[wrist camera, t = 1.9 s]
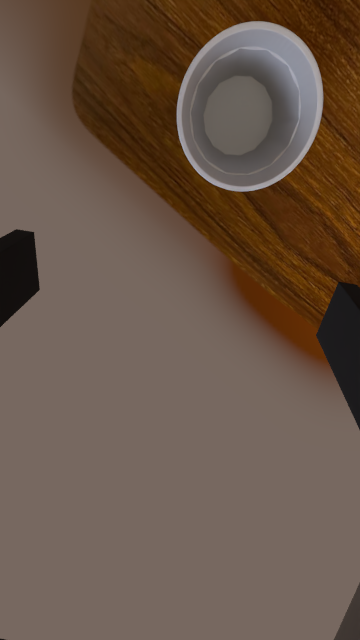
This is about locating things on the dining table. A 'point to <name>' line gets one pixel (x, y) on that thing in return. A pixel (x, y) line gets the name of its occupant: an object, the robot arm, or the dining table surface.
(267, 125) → the cup
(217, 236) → the dining table surface
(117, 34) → the dining table surface
